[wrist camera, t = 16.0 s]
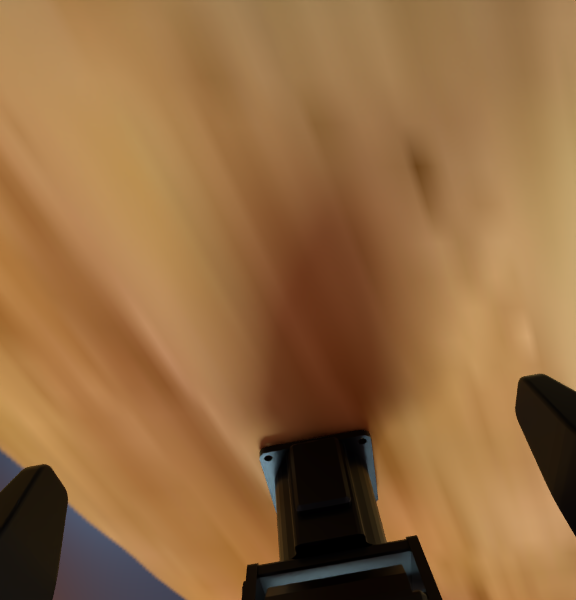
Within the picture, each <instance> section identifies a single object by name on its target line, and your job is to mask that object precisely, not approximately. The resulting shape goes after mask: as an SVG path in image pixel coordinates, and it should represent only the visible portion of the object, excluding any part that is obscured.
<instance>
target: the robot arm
mask: <svg viewBox="0 0 576 600" xmlns="http://www.w3.org/2000/svg"><path fill="white" fill-rule="evenodd" d="M515 411H516V416H517V420H518V422H519V424H520V427H521V429H522V431H523V433H524V435H525V438H526V440H527V442H528V444H529V446H530V449H531V451H532V453H533V455H534V458H535V460H536V462H537V464H538V466H539V469H540V471H541V473H542V475H543V477H544V480H545V482H546V484H547V486H548V488H549V490H550V492H551V494H552V496H553V498H554V500H555V502H556V504H557V505H558V507H559V509H560V511H561V512H562V514H563V516H564V518H565V519H566V521H567V523H568V524H569V526H570V528H571V529H572V531H573V533H574V535H575V536H576V391H574V390H572V389H570V388H569V387H567V386H565V385H563V384H562V383H560V382H558V381H556V380H554V379H553V378H551V377H549V376H547V375H545V374H535V375H529V376H524V377H521V378H520V380H519V382H518V388H517V397H516V406H515ZM361 438H363V439H361ZM267 455H270V456H267ZM260 462H261V465H262V468H263V472H264V475H265V478H266V481H267V484H268V488H269V491H270V494H271V497H272V501H273V504H274V507H275V510H276V513H277V526H278V542H279V557H280V561H279V562H274V563H268V564H262V565H259V564H258V563H257V564H251V565H247V574H246V581H244V582H243V587H242V600H442V597H441V595H440V592H439V590H438V587H437V585H436V582H435V580H434V577H433V575H432V572H431V570H430V567H429V565H428V562H427V560H426V557H425V555H424V552H423V550H422V547H421V545H420V542H419V540H418V537H417V535H415V536H410V537H406V539H404V540H398V541H393V542H387V541H386V537H385V534H384V530H383V526H382V522H381V518H380V515H379V511H378V507H377V503H376V501H377V500H378V494H377V485H376V477H375V469H374V460H373V452H372V443H371V438H370V434H369V432H368V431H366V430H358V431H352V432H347V433H341V434H336V435H330V436H325V437H319V438H314V439H308V440H303V441H297V442H292V443H286V444H281V445H275V446H270V447H265V448H263V449H261V451H260ZM67 504H68V495H67V491H66V489H65V487H64V486H63V484H62V483H61V481H60V480H59V478H58V477H57V475H56V474H55V472H54V471H53V470H52V468H51V467H50V466H48V465H46V464H42V465H37V466H31V467H27V468H25V469H23V470H22V471H21V472H20V473H19V474H18V475H17V476H16V477H15V478H14V479H13V480H12V481H11V482H10V483H9V484H8V485H7V486H6V487H5V488H4V489H3V490H2V491H1V492H0V600H52V599H53V594H54V590H55V585H56V580H57V575H58V569H59V561H60V554H61V547H62V540H63V532H64V526H65V518H66V512H67Z"/></svg>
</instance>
